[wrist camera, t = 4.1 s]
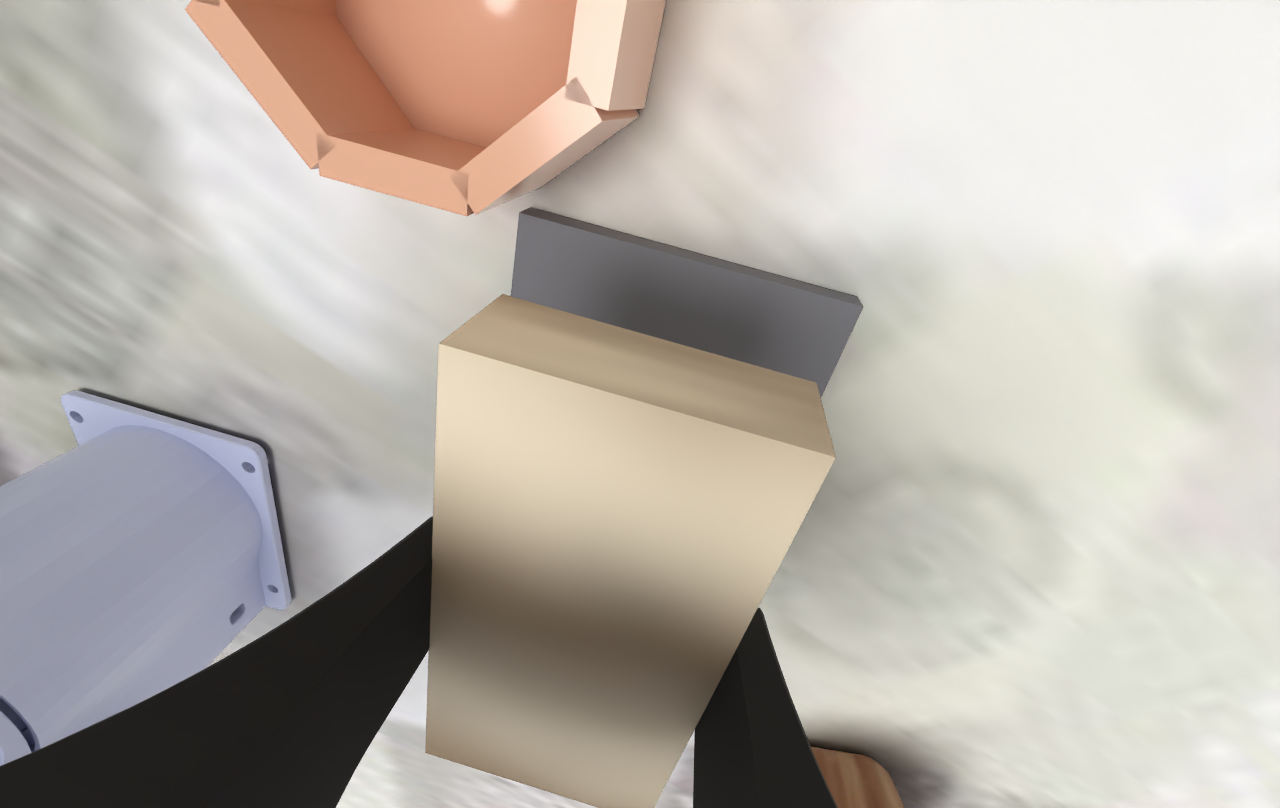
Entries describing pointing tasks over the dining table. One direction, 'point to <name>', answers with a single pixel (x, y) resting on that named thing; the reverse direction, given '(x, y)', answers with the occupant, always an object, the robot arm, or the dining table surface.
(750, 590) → the lid
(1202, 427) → the dining table surface
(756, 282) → the mat
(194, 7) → the bowl
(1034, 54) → the dining table surface
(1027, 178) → the dining table surface
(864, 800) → the cupcake
